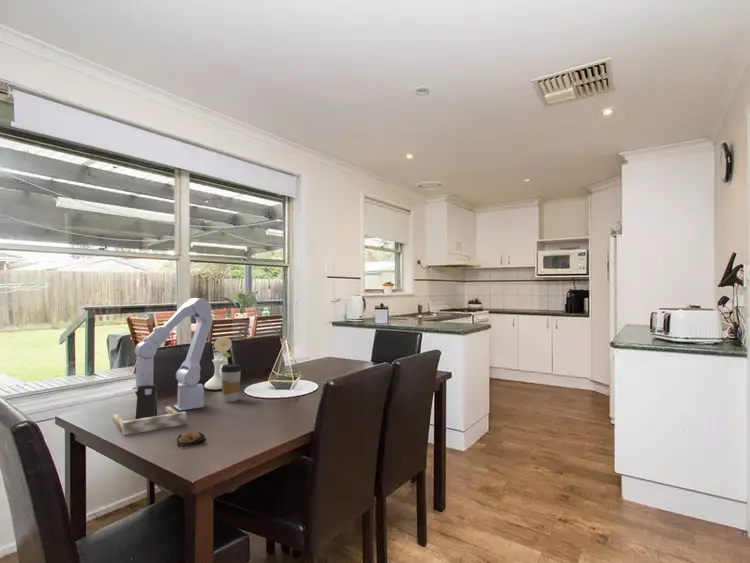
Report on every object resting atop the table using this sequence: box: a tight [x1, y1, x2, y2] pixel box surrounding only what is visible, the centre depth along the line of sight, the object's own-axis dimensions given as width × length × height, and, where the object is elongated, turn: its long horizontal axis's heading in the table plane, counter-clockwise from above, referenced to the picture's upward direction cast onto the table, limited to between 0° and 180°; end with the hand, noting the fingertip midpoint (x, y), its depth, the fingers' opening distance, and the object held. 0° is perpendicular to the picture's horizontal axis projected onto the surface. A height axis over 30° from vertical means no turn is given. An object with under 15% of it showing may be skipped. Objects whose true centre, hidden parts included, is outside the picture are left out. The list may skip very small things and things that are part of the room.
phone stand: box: [134, 384, 158, 419], centre depth 156 cm, size 9×6×12 cm, turn 20°
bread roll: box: [176, 431, 208, 450], centre depth 133 cm, size 11×8×4 cm
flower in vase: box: [203, 336, 233, 391], centre depth 204 cm, size 13×11×25 cm
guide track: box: [112, 406, 187, 436], centre depth 153 cm, size 19×22×4 cm
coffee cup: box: [220, 363, 242, 403], centre depth 183 cm, size 8×8×15 cm
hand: (143, 410), depth 160 cm, fingers closed
